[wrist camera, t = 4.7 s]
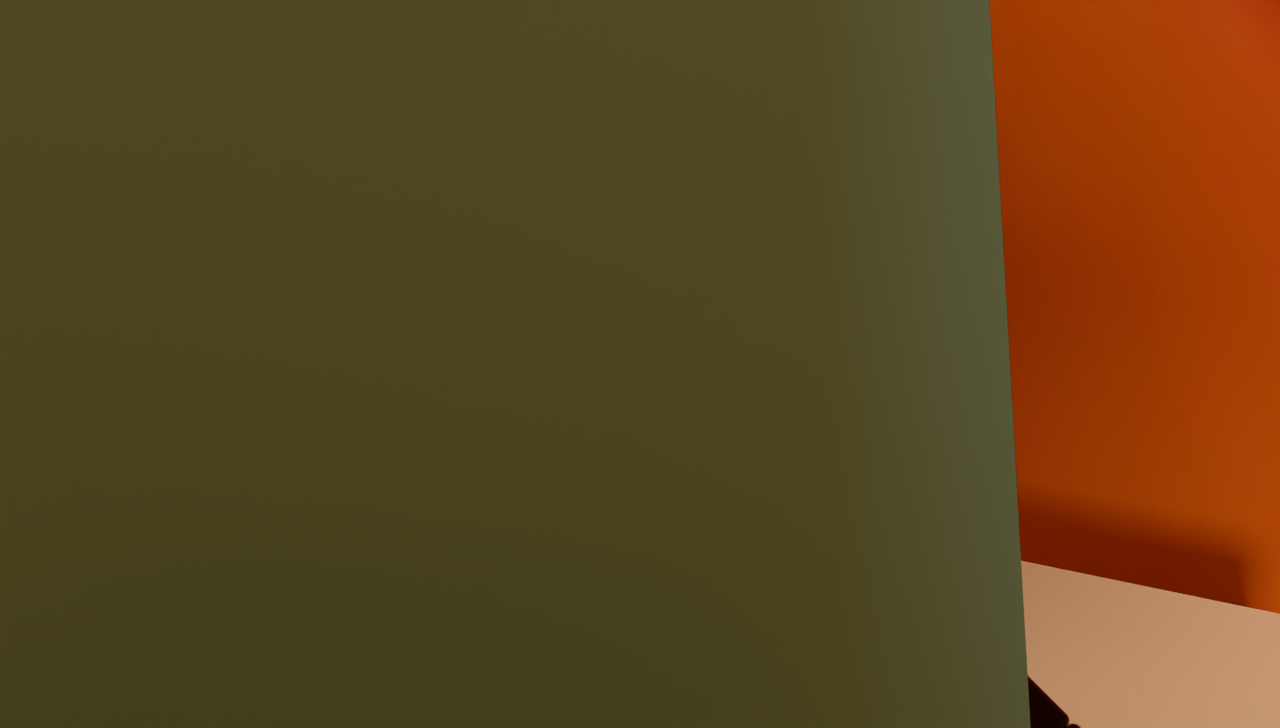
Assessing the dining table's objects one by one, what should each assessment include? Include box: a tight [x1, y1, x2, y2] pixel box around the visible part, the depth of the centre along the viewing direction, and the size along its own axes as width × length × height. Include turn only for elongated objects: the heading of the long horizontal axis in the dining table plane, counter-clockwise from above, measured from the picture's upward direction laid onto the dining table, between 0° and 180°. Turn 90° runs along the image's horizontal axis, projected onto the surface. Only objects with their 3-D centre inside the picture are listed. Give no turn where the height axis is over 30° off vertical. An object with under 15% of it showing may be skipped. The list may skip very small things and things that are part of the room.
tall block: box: [0, 0, 1031, 728], centre depth 9 cm, size 4×4×13 cm
